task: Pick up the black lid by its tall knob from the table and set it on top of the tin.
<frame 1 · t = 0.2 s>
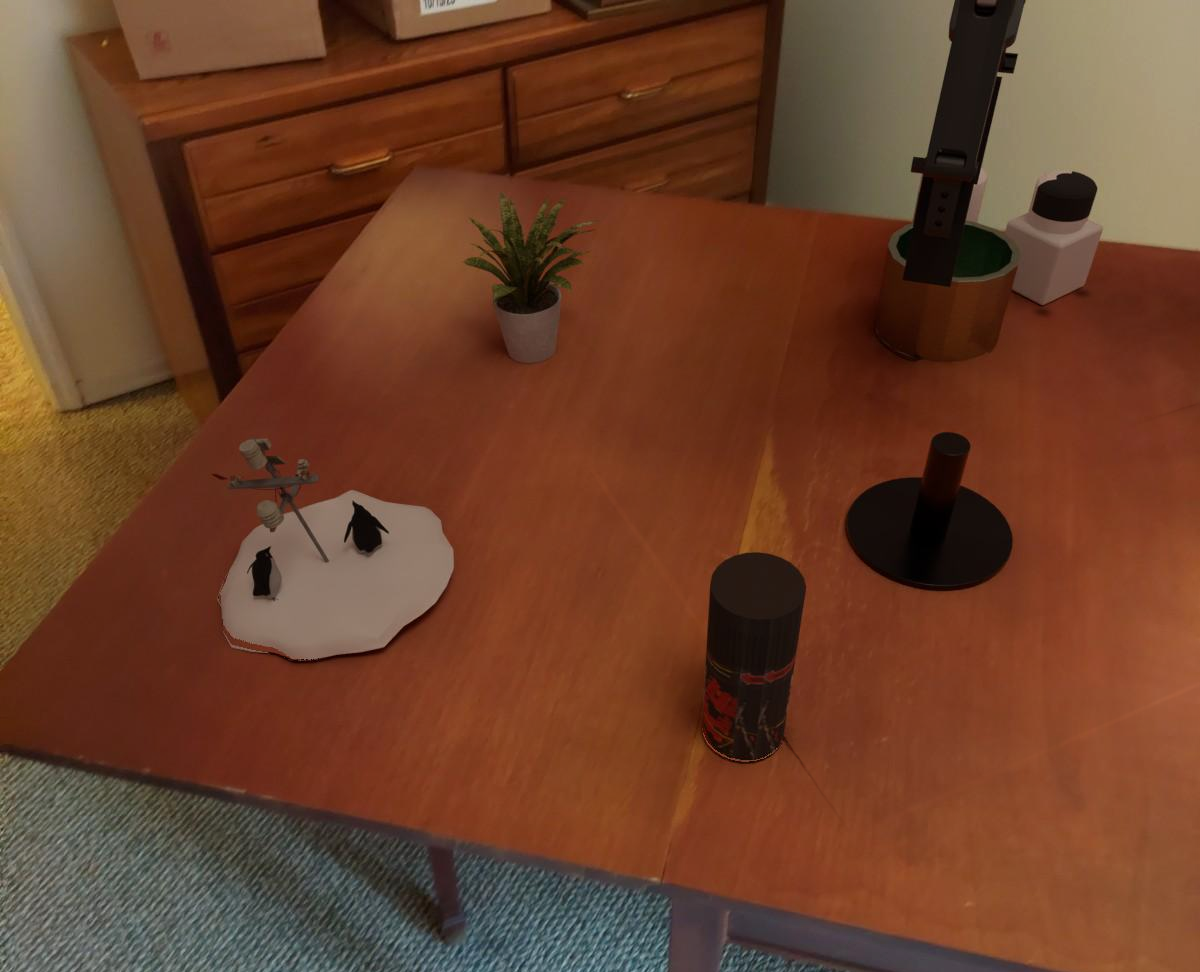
hand: (942, 227, 66), 30 cm above the table, tool pointing down, fingers open, 13 cm apart
house plant: (532, 358, 112), on the table
spray bottle: (934, 269, 122), on the table
medicine bottle: (1037, 285, 119), on the table
figurine: (338, 583, 89), on the table
tin lid: (927, 533, 90), point 1 cm above the table
deodorant: (742, 731, 77), on the table
tin: (935, 332, 112), on the table
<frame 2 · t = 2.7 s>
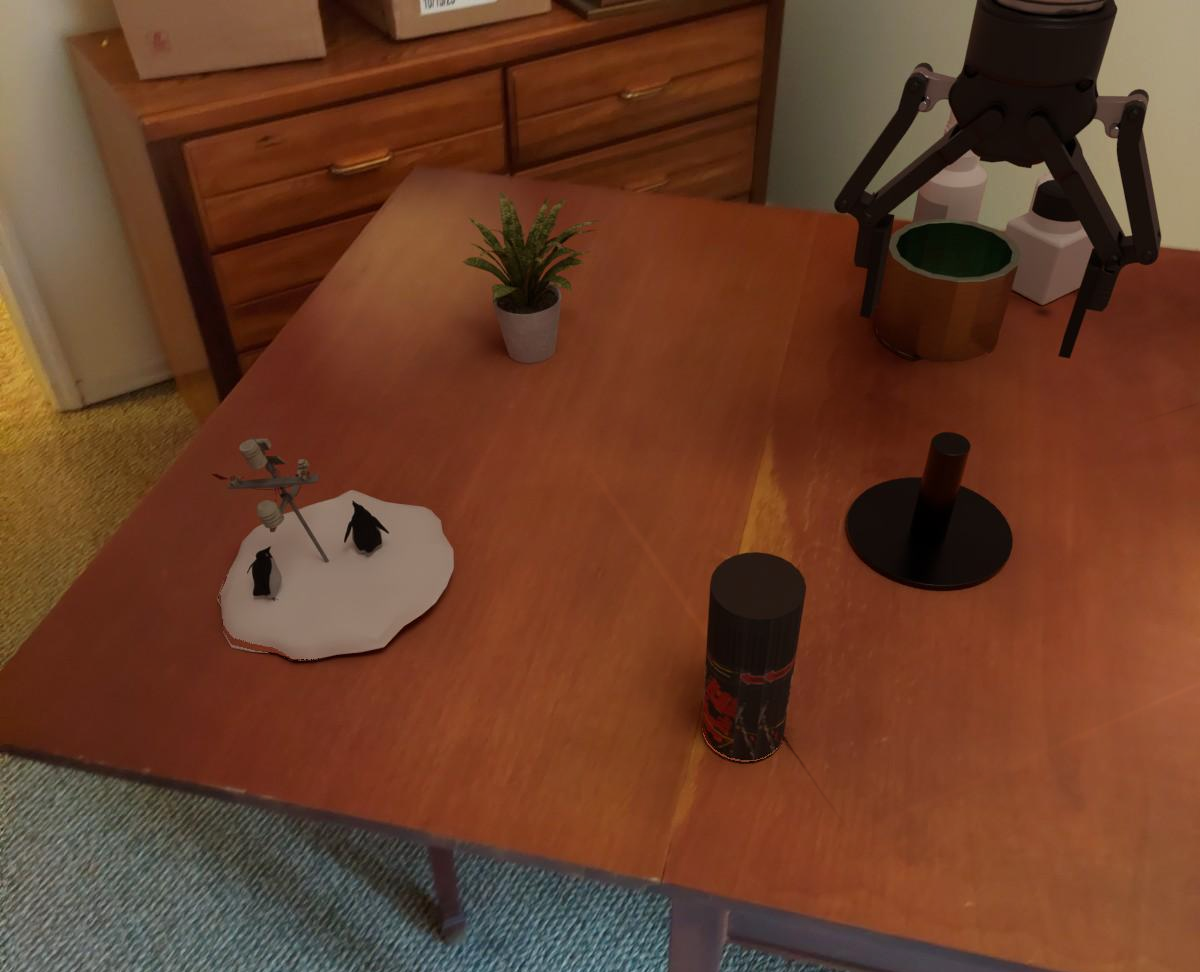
hand: (965, 327, 74), 21 cm above the table, tool pointing down, fingers open, 13 cm apart
nothing on the table moved.
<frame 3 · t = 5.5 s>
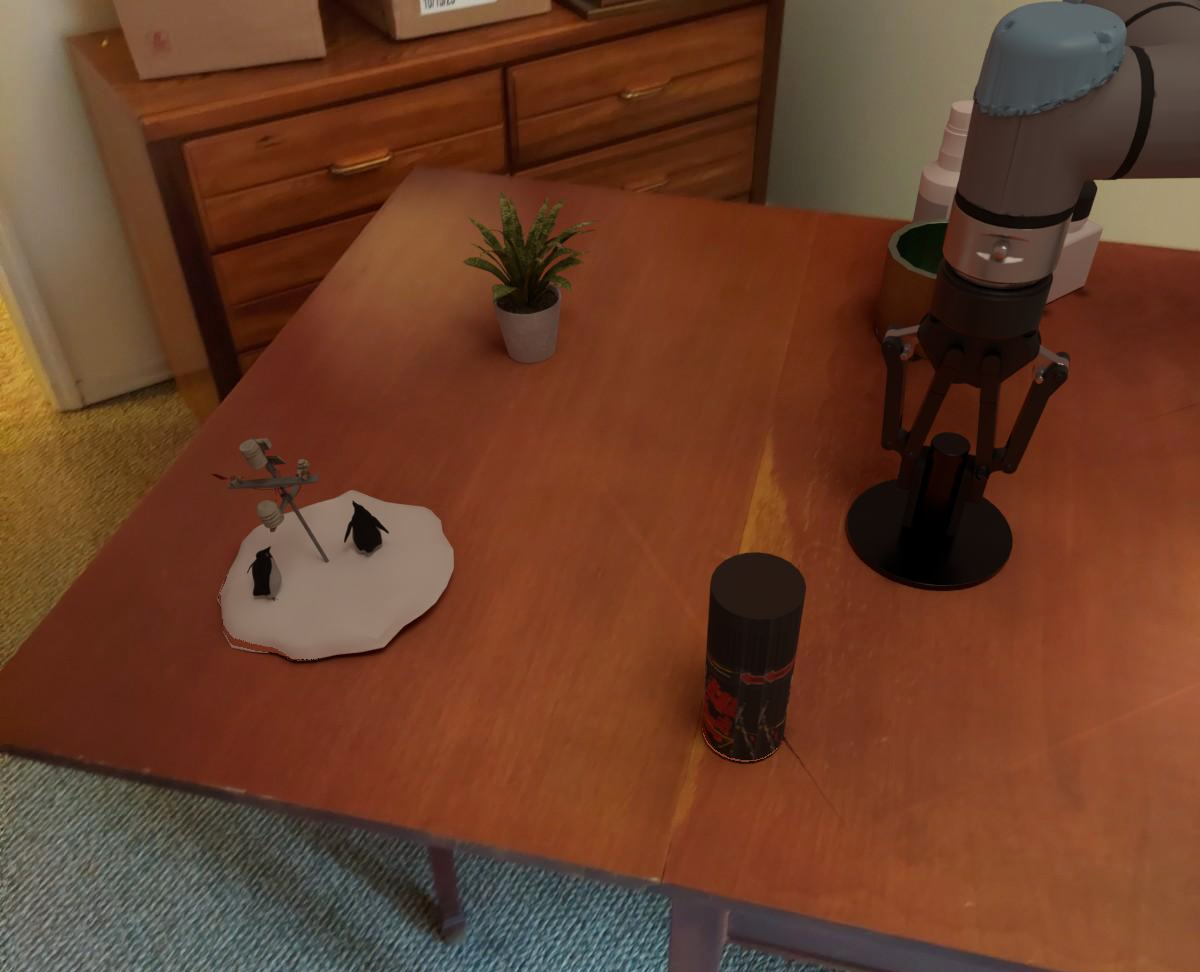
hand: (930, 520, 89), 2 cm above the table, tool pointing down, fingers closed on tin lid, 3 cm apart
tin lid: (927, 533, 90), point 1 cm above the table, touching gripper
everything else where it was.
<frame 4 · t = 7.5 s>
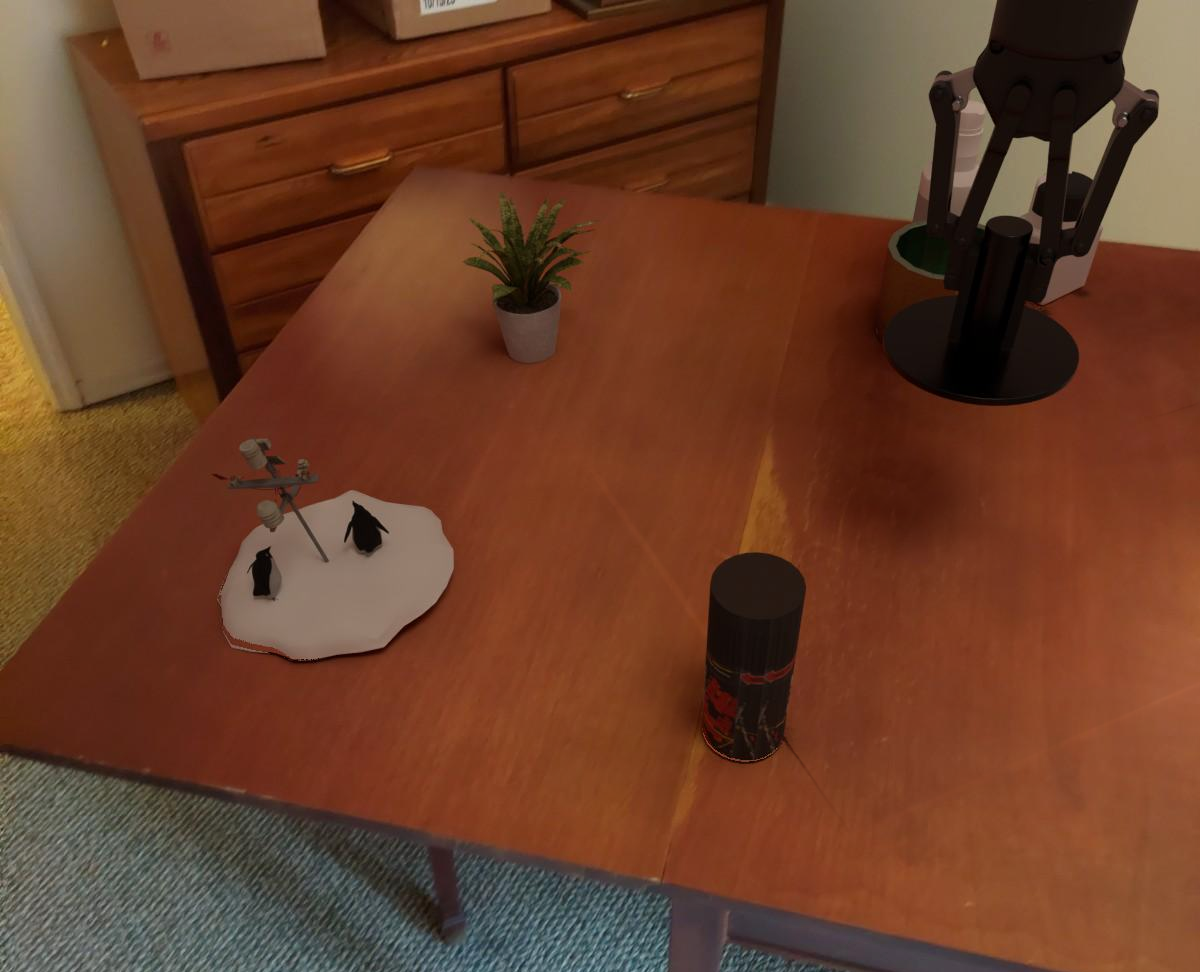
hand: (982, 332, 76), 20 cm above the table, tool pointing down, fingers closed on tin lid, 3 cm apart
tin lid: (978, 350, 77), point 19 cm above the table, touching gripper
everything else where it was.
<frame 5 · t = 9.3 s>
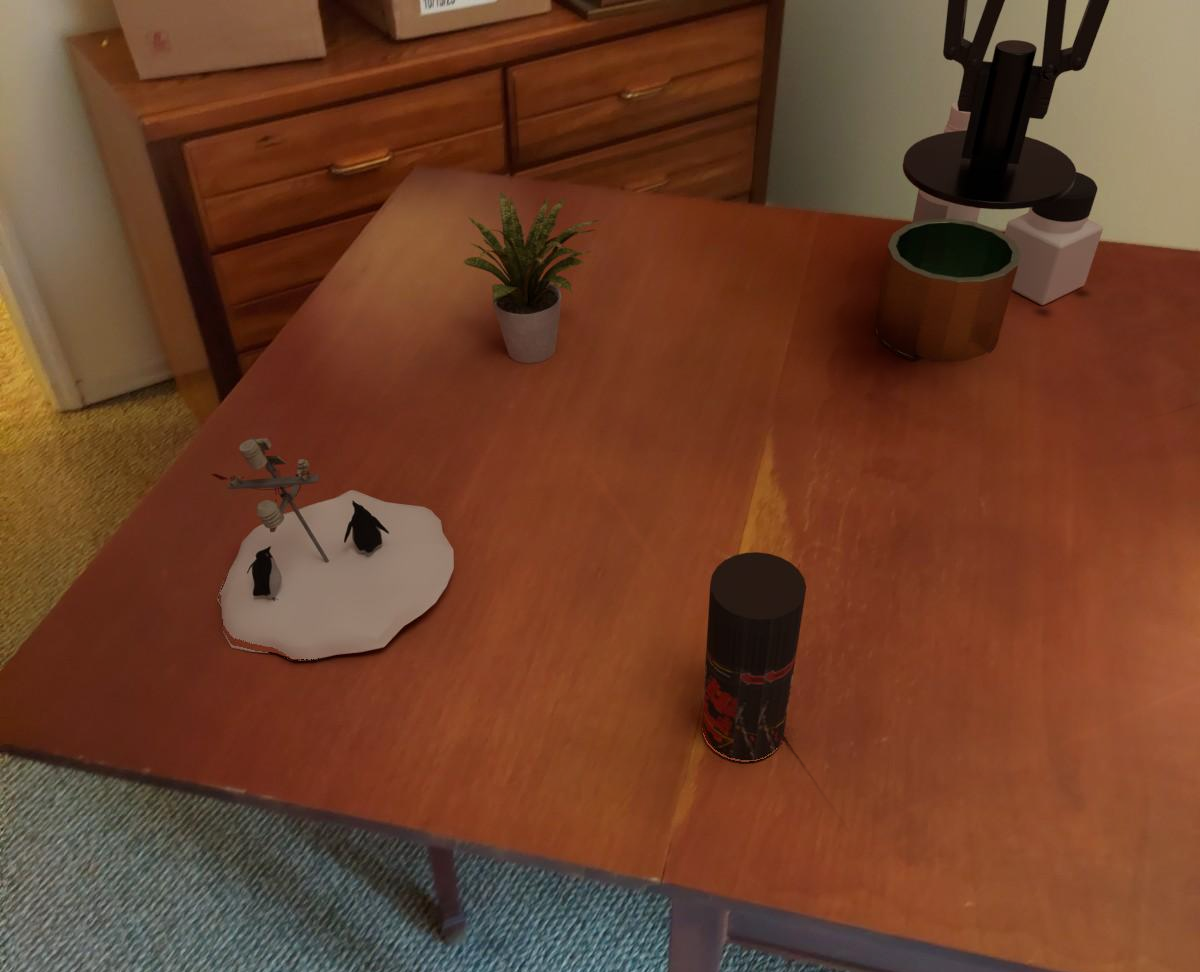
hand: (991, 153, 86), 24 cm above the table, tool pointing down, fingers closed on tin lid, 3 cm apart
tin lid: (987, 171, 87), point 23 cm above the table, touching gripper
everything else where it was.
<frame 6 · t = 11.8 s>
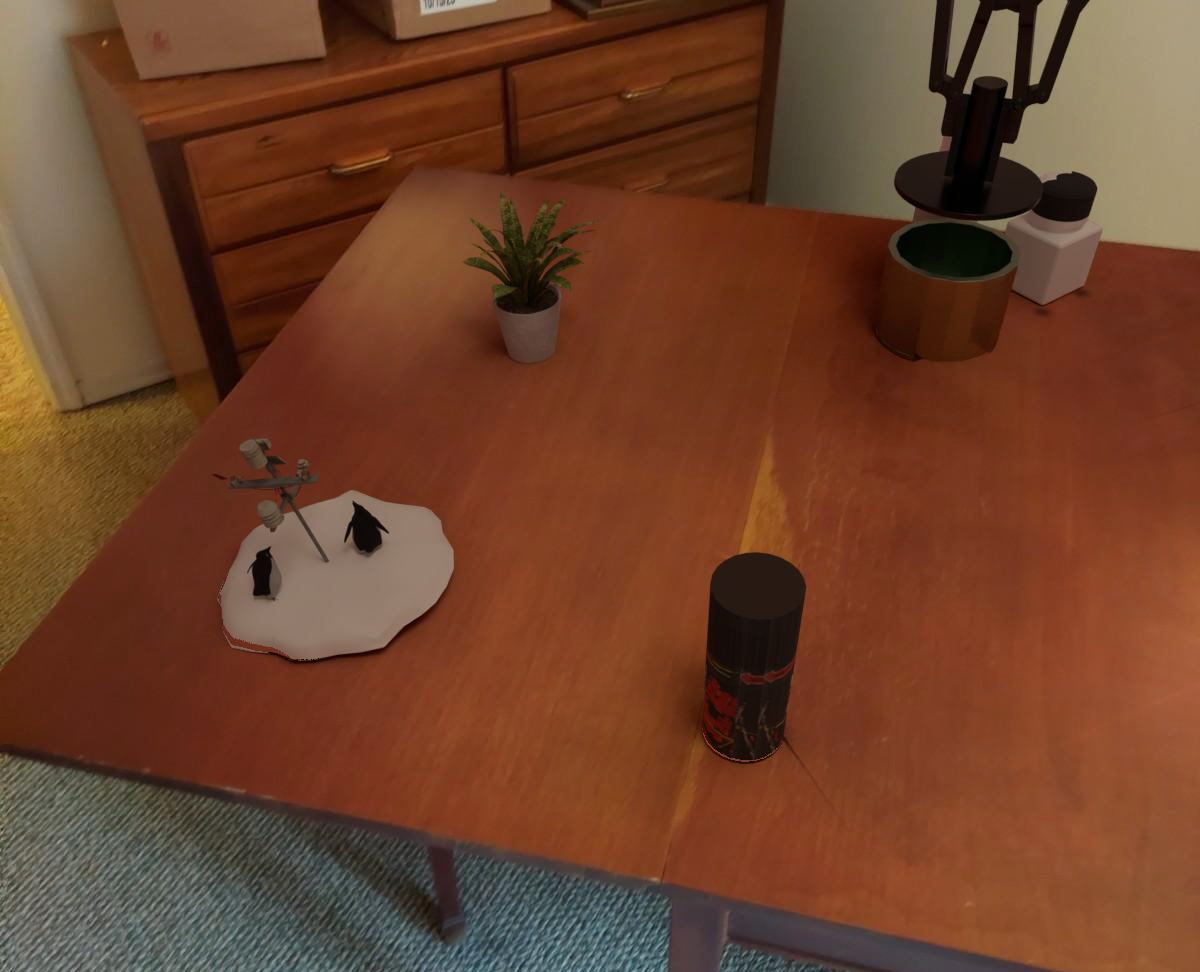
hand: (970, 172, 100), 17 cm above the table, tool pointing down, fingers closed on tin lid, 3 cm apart
tin lid: (966, 187, 101), point 16 cm above the table, touching gripper
everything else where it was.
when the fingers open (11 cm above the table, at t = 13.5 s): tin lid stays where it is, resting on tin.
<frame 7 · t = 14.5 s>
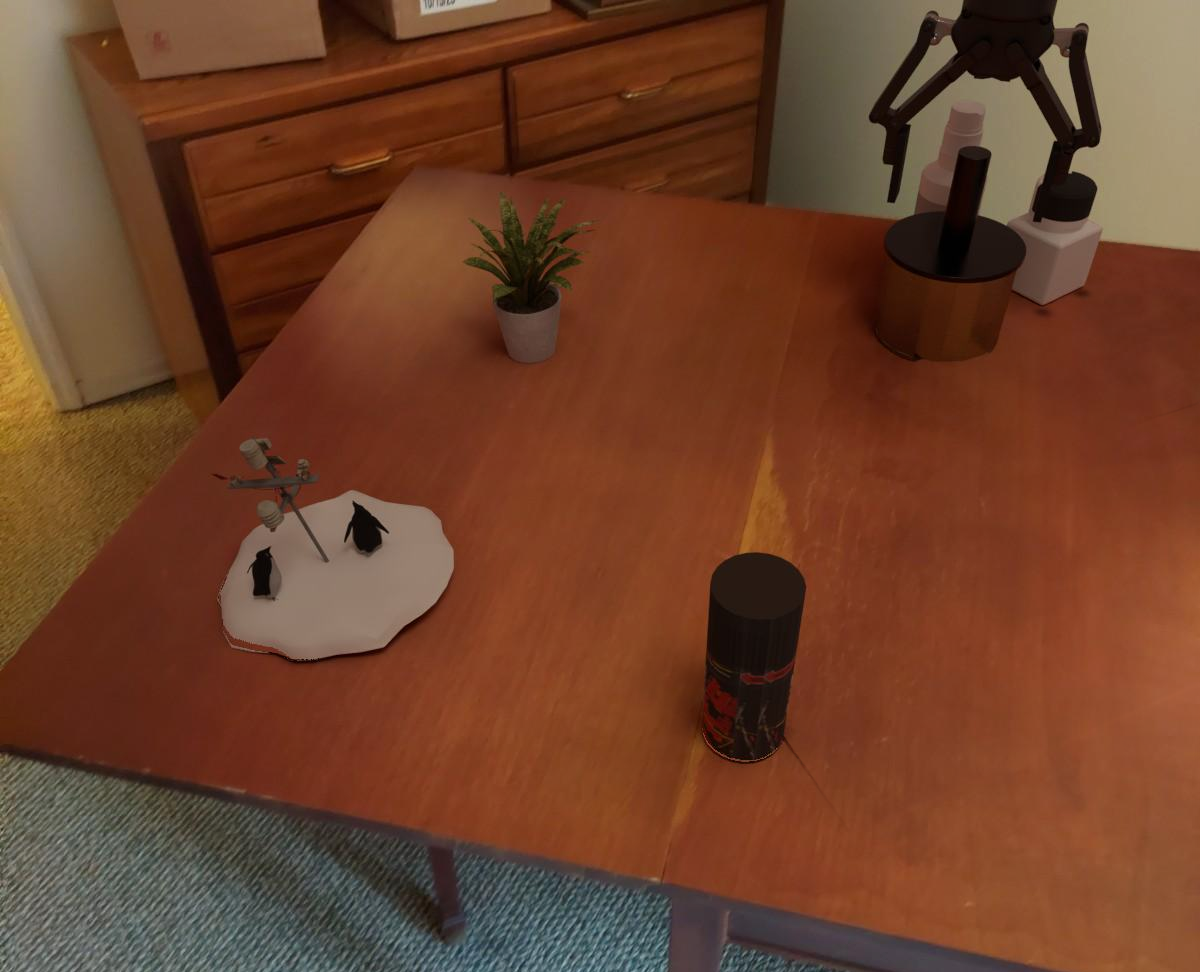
hand: (964, 206, 102), 14 cm above the table, tool pointing down, fingers open, 13 cm apart
tin lid: (953, 248, 105), point 9 cm above the table, touching tin
everything else where it was.
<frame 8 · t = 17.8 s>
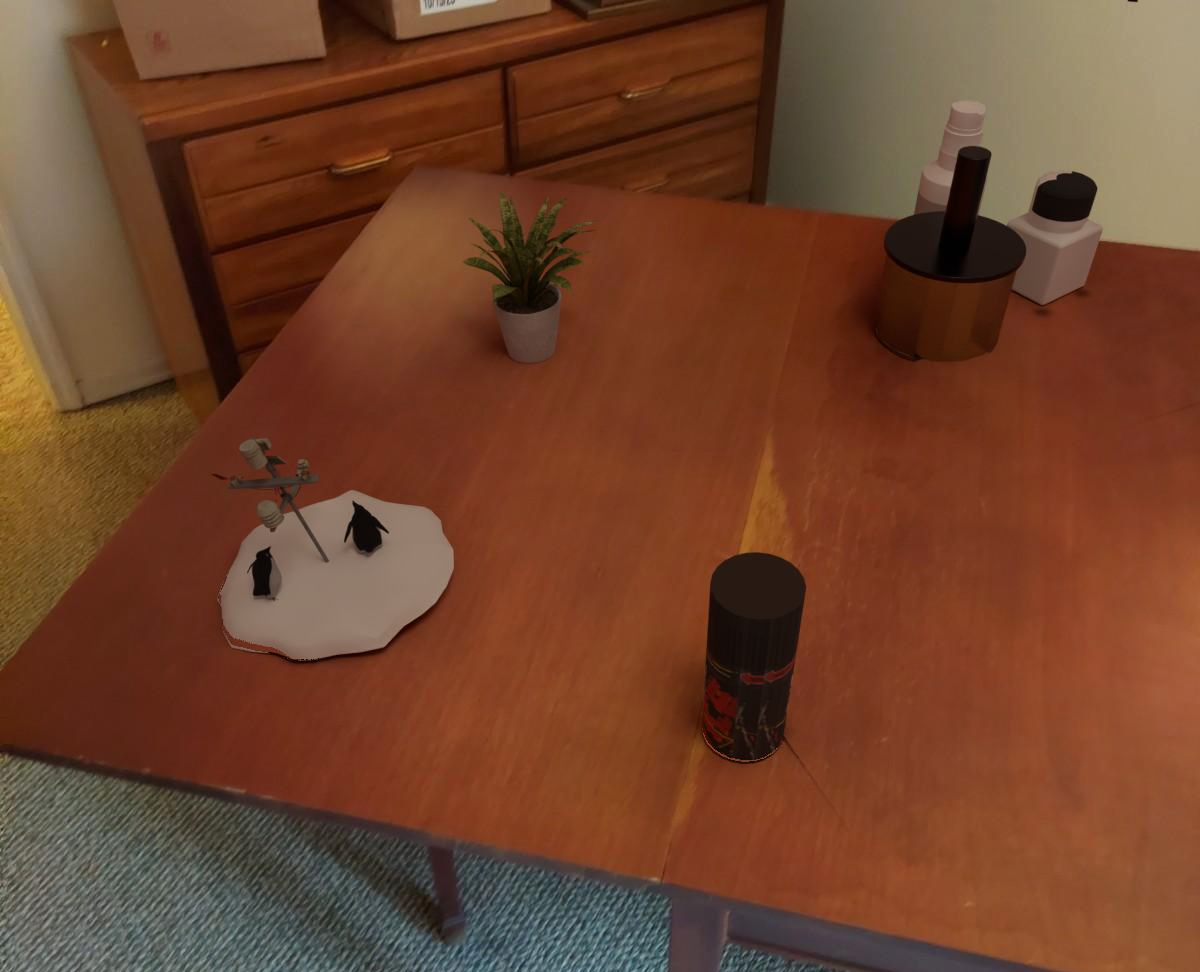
nothing on the table moved.
at the end: tin lid 0.0 cm off-centre on the tin, point 9.5 cm above the tin's base; tin lid tilted 0°; the gripper is holding nothing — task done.
